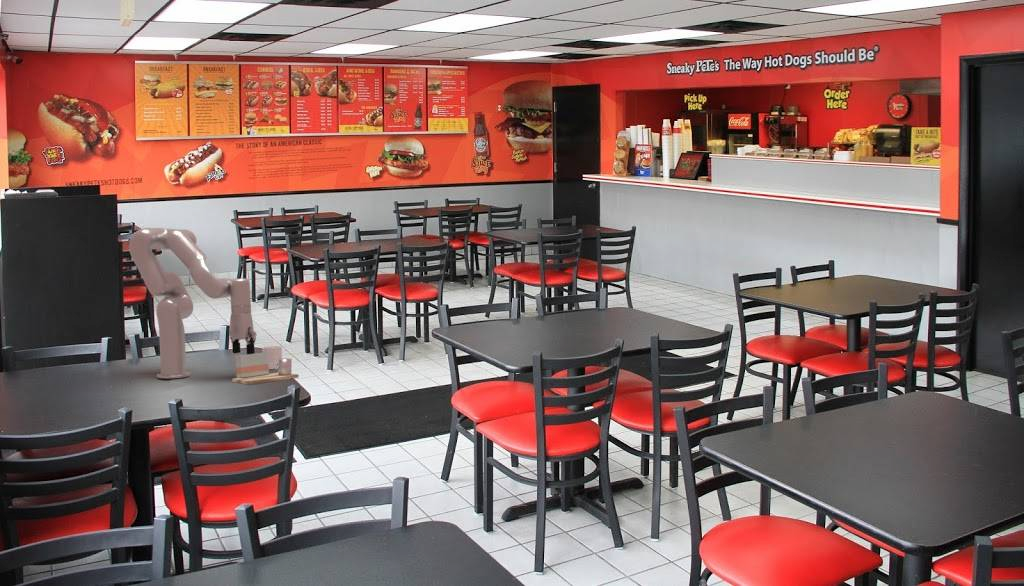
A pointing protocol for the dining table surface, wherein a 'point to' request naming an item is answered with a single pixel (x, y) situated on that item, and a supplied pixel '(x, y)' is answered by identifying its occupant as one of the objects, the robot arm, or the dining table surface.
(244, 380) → the wooden board
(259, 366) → the carton
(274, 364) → the pink cup
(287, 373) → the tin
